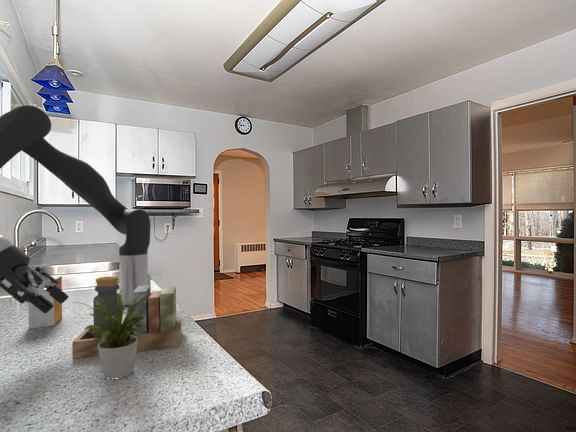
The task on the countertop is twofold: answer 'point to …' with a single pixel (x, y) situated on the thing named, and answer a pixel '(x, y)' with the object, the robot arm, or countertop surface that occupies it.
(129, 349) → the house plant
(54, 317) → the small box
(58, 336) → the countertop surface
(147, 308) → the rack
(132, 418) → the countertop surface
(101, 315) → the bottle
